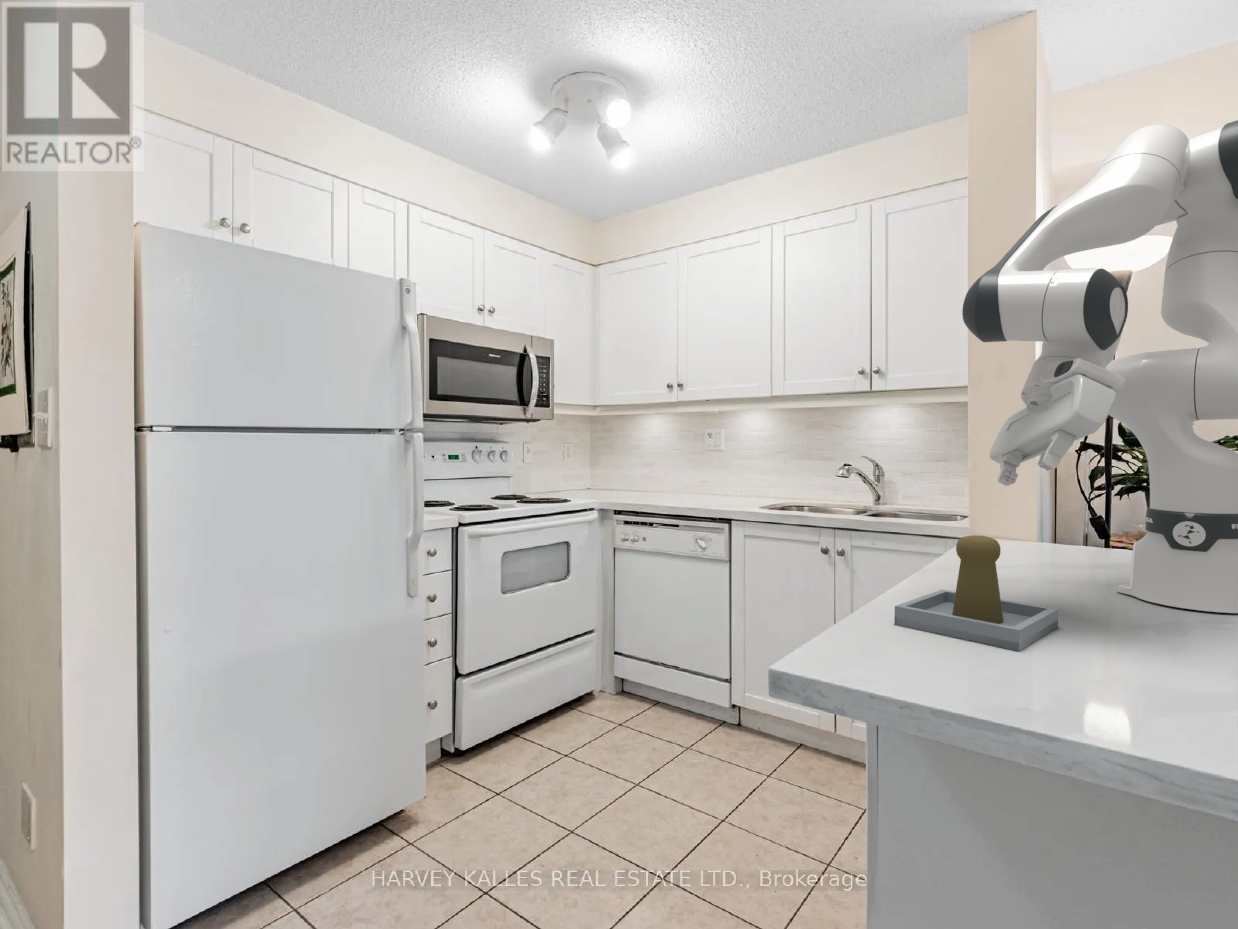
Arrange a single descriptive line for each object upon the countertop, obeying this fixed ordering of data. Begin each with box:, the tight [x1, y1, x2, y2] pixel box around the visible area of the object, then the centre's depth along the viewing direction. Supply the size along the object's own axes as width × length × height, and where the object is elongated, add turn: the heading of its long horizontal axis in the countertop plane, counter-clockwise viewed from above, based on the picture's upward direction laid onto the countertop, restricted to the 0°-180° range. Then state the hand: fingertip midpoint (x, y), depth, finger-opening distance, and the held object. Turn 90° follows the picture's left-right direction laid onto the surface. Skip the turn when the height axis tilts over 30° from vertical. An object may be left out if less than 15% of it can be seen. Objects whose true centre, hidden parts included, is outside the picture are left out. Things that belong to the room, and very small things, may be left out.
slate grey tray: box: [894, 589, 1060, 652], centre depth 87 cm, size 15×15×2 cm
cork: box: [952, 534, 1003, 624], centre depth 87 cm, size 6×6×11 cm
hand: (1024, 475), depth 89 cm, fingers open, 8 cm apart
